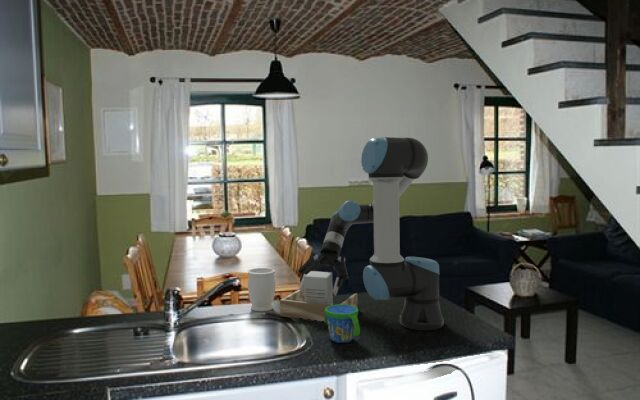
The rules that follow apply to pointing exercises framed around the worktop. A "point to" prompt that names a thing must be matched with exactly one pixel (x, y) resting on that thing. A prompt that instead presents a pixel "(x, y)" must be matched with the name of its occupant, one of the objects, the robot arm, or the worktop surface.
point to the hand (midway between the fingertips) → (317, 292)
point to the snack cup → (342, 322)
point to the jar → (261, 288)
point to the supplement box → (318, 287)
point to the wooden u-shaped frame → (307, 306)
